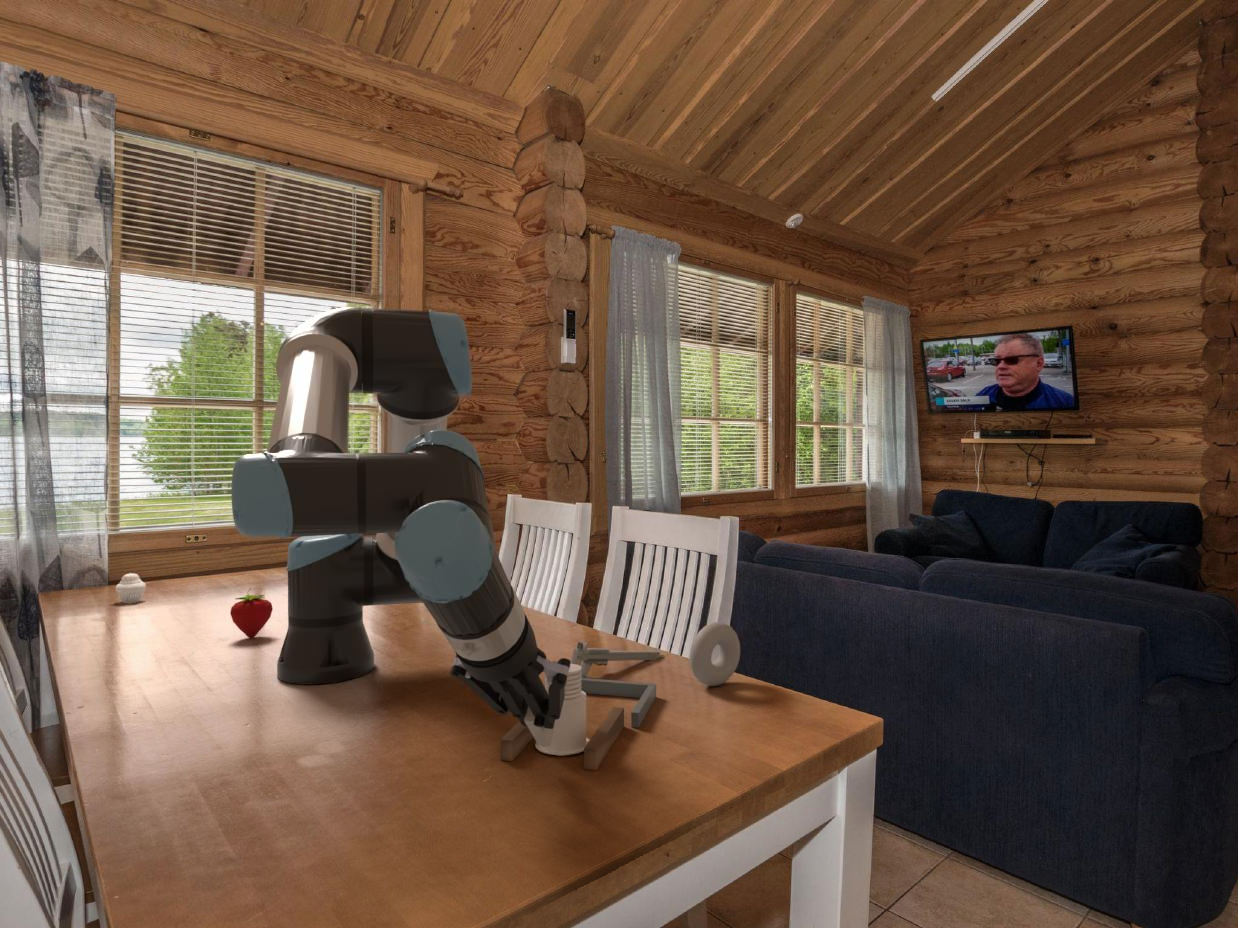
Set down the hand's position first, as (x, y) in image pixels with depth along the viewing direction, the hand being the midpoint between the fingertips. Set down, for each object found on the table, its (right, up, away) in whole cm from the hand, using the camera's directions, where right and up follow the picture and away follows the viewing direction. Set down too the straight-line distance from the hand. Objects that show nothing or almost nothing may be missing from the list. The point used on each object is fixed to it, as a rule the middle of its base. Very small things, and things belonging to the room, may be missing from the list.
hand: (547, 734), depth 90 cm
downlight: (+1, -4, +6) cm, 7 cm away
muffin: (-108, -1, +91) cm, 141 cm away
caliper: (+9, -3, +39) cm, 40 cm away
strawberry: (-63, -2, +58) cm, 86 cm away
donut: (+24, -3, +30) cm, 38 cm away
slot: (+2, -4, +7) cm, 8 cm away
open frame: (+5, -3, +20) cm, 21 cm away
